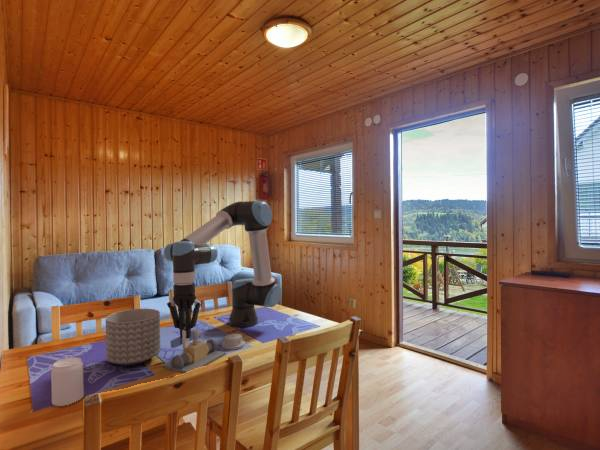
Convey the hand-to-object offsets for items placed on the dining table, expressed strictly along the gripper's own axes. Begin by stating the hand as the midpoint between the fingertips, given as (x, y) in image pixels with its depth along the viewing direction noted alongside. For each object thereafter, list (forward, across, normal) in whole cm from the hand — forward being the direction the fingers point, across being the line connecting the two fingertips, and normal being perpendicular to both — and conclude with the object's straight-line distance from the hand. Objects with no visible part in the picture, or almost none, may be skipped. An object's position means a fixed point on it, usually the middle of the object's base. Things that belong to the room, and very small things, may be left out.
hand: (185, 346), depth 129 cm
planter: (+8, +23, -4) cm, 25 cm away
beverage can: (+8, +26, +26) cm, 38 cm away
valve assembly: (+8, 0, -8) cm, 11 cm away
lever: (-1, +1, -3) cm, 3 cm away
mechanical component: (+9, -10, -25) cm, 28 cm away
